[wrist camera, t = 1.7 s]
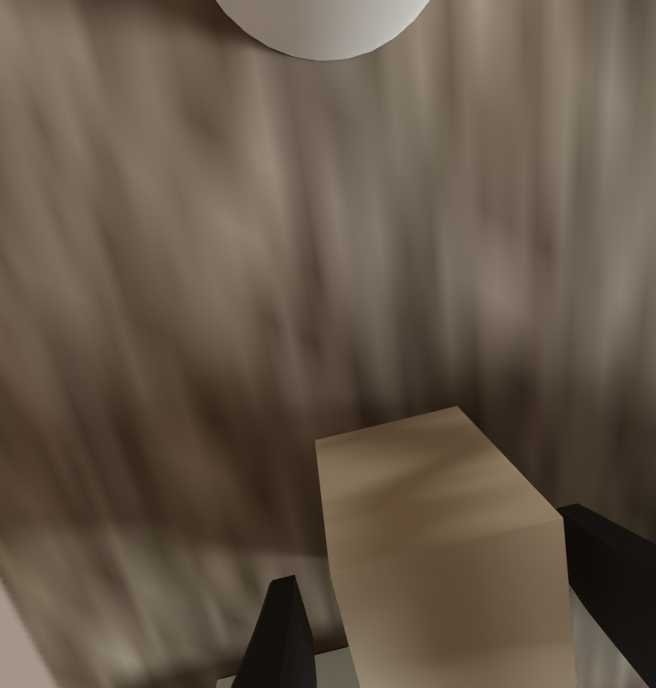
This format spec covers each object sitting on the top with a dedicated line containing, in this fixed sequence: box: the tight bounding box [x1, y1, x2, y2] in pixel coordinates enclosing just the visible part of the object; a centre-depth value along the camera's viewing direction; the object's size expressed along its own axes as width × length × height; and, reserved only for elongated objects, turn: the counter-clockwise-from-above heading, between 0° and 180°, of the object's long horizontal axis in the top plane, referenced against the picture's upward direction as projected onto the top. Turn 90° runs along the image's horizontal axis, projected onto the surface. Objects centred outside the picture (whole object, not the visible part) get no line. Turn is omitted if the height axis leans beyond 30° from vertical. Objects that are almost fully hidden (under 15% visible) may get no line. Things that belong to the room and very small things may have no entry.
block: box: [315, 406, 577, 688], centre depth 13 cm, size 5×5×6 cm
